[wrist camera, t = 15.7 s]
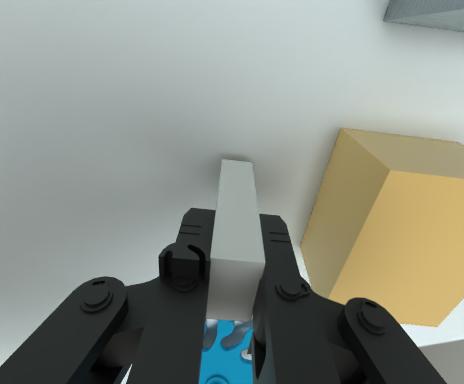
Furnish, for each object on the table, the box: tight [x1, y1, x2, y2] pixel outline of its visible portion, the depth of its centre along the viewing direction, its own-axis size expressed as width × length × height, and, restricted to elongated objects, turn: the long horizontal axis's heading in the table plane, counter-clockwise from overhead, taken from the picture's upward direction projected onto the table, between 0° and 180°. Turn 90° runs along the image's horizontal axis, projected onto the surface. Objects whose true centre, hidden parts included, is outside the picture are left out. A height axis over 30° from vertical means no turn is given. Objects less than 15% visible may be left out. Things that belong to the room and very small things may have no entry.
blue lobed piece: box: [199, 320, 253, 384], centre depth 21 cm, size 11×6×10 cm
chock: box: [300, 128, 464, 327], centre depth 13 cm, size 6×8×5 cm
